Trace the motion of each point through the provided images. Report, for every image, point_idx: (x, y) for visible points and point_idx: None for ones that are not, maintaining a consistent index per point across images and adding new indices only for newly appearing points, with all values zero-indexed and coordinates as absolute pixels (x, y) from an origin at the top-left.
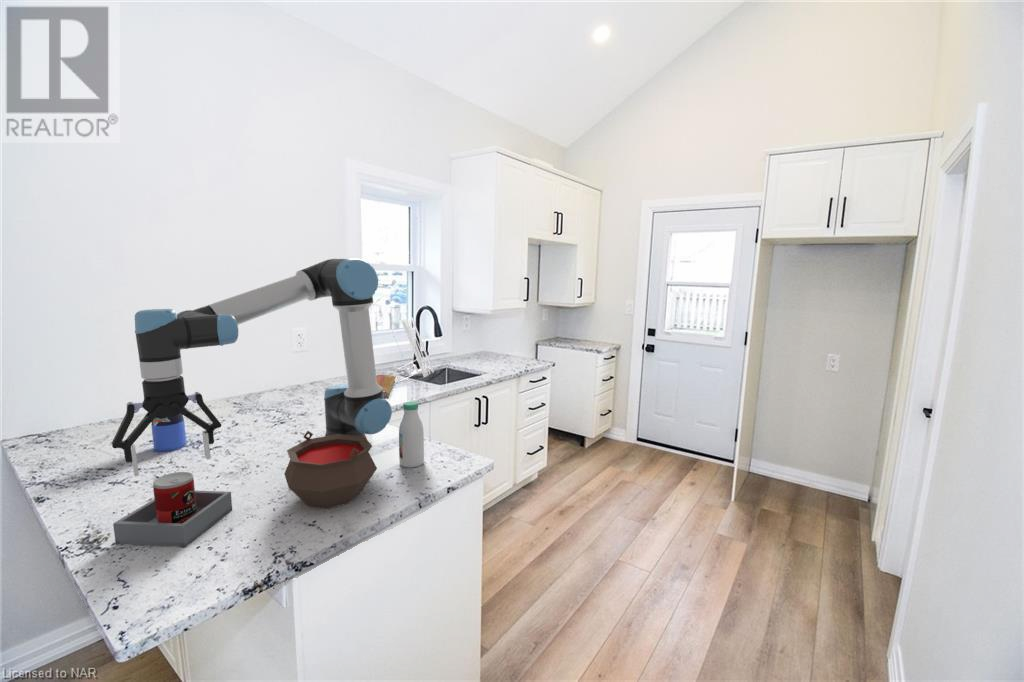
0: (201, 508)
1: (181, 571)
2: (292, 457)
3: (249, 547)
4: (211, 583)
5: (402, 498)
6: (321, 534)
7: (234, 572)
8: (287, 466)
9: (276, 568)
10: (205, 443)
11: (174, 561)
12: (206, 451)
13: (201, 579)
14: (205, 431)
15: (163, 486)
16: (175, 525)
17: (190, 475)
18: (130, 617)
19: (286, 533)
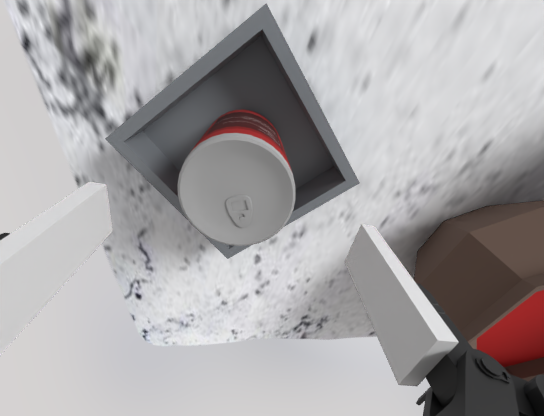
0: (303, 121)
1: (211, 282)
2: (488, 328)
3: (293, 290)
4: (230, 320)
5: None
6: (363, 319)
7: (256, 319)
8: (487, 251)
9: (289, 337)
10: (372, 324)
11: (209, 256)
12: (357, 287)
13: (225, 308)
14: (436, 359)
15: (200, 232)
16: (217, 247)
17: (285, 209)
18: (152, 318)
19: (341, 292)
